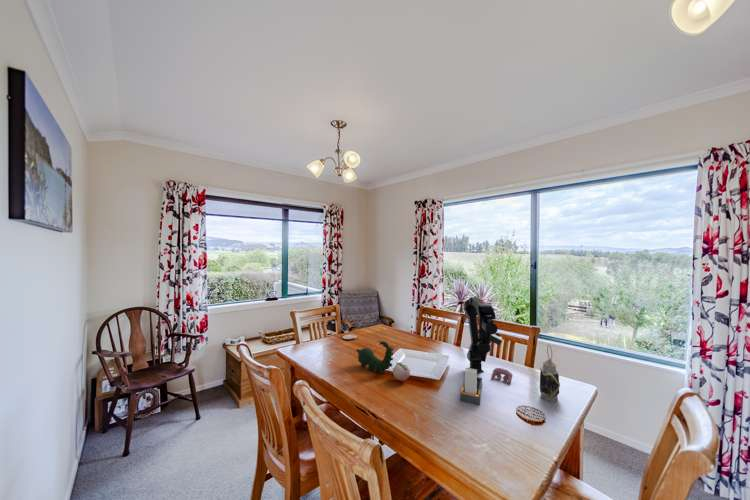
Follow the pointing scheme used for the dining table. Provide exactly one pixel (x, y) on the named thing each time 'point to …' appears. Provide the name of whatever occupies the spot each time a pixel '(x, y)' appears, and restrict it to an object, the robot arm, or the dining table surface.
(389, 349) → the toy figurine
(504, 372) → the video game controller
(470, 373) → the light grey block
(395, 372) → the decorative fruit
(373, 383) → the dining table surface
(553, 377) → the lantern
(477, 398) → the rack
